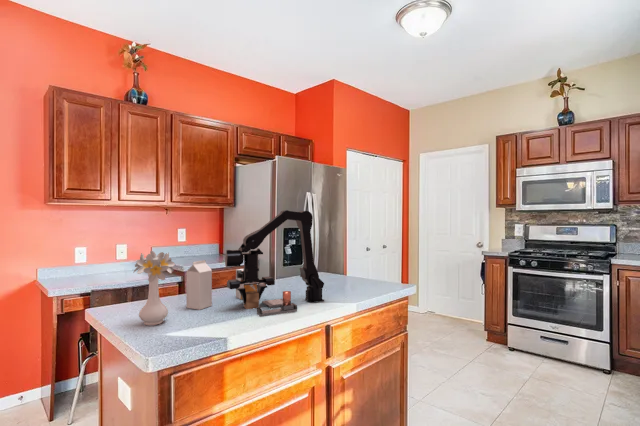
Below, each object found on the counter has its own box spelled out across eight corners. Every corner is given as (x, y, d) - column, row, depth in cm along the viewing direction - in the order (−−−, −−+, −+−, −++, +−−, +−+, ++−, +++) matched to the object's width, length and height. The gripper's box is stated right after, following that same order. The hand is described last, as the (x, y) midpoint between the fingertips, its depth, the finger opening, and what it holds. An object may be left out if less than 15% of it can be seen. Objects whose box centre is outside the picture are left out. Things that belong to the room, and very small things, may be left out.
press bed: (281, 301, 158) (281, 298, 158) (290, 306, 149) (290, 303, 149) (262, 303, 154) (262, 300, 154) (269, 308, 145) (269, 305, 145)
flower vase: (142, 333, 115) (142, 255, 115) (128, 320, 129) (128, 251, 129) (183, 325, 124) (183, 252, 124) (166, 314, 138) (166, 248, 138)
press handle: (289, 306, 144) (289, 290, 144) (293, 308, 140) (293, 292, 140) (280, 307, 142) (280, 291, 142) (283, 310, 138) (283, 293, 138)
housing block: (255, 305, 151) (255, 290, 151) (258, 307, 147) (258, 292, 147) (243, 306, 149) (243, 291, 149) (246, 309, 144) (246, 294, 144)
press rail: (293, 309, 144) (293, 303, 144) (297, 311, 141) (297, 305, 141) (256, 314, 138) (256, 307, 138) (260, 316, 134) (260, 310, 134)
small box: (240, 300, 160) (240, 270, 160) (235, 297, 166) (235, 269, 166) (257, 297, 165) (257, 269, 165) (252, 295, 170) (252, 267, 170)
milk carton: (212, 306, 150) (211, 260, 150) (199, 310, 143) (199, 262, 143) (198, 304, 153) (198, 259, 153) (186, 308, 146) (186, 261, 146)
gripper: (266, 261, 159) (266, 297, 159) (223, 264, 151) (224, 301, 151) (275, 264, 149) (275, 302, 149) (230, 268, 141) (230, 308, 141)
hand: (251, 303), depth 148 cm, fingers closed on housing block, 5 cm apart
